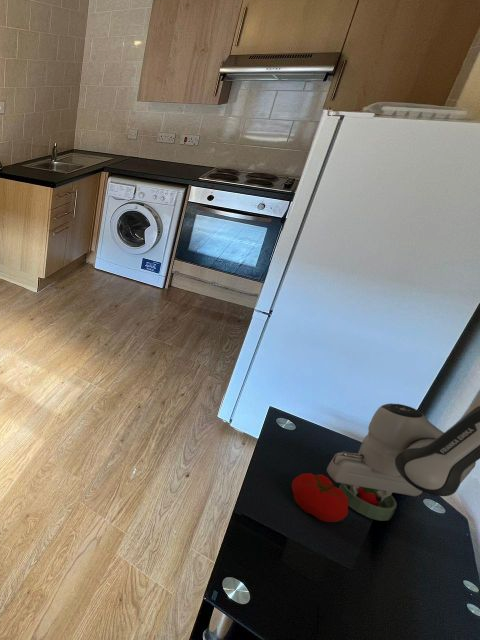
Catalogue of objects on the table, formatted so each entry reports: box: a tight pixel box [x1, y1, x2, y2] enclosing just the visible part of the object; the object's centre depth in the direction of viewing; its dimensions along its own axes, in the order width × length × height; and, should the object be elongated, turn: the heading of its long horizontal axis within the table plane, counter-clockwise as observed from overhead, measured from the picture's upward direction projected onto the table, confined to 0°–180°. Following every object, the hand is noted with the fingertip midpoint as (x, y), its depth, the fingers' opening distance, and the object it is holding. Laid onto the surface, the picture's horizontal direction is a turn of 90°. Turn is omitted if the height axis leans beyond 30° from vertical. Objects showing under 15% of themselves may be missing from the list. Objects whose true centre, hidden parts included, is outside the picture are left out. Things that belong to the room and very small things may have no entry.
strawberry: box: [357, 487, 379, 507], centre depth 112 cm, size 4×4×5 cm
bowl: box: [338, 483, 398, 522], centre depth 112 cm, size 11×11×4 cm
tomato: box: [291, 472, 349, 523], centre depth 109 cm, size 11×12×9 cm
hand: (365, 497), depth 112 cm, fingers closed on strawberry, 4 cm apart
